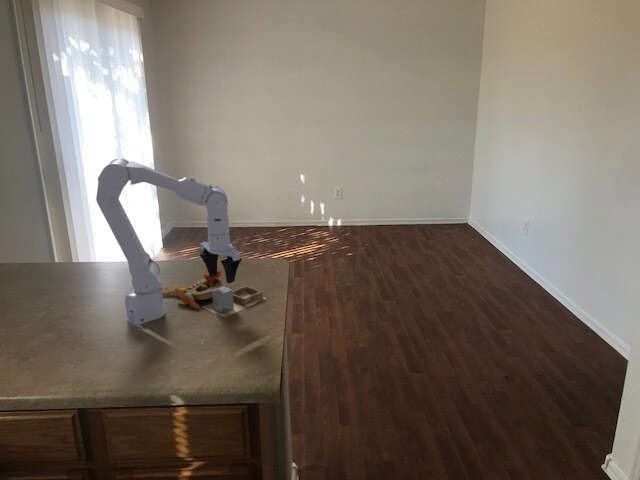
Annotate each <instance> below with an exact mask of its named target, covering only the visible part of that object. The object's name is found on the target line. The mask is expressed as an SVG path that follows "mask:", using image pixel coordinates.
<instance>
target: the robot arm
mask: <svg viewBox="0 0 640 480" xmlns="http://www.w3.org/2000/svg"><path fill="white" fill-rule="evenodd" d="M129 181H130V185H131V186H133V185H137V184H140V183H146V184H149V185H153V186H155V187H159V188H162V189H166V190H169V191H172V192H174V193H175V194H176V196H177V197H178V199H181V200H183V201H187V202H190V203H192V204H196V205H198V206H201V207H202V206H203V207H204V206H205V208H206V210H207V213H206V215H207V216H206V225H207V228H206V229H207V237H208V238H207V241H204V242H201V243H200V250H201V251H202V252H200V253H199V257H200V258H201V259H202V261H203V263H204V265H205V267H206V270H207V271H208V273H209V276H210V277H212V276H215V275H217V269H218V259H219V255H220V256H223V257H226V258H225V259H221V260H220V263H221V265H222V267H223V269H224V273H225V280H226V284H232V283H234V282H235V280H236V275H237V270H238V268H239V266H240V264H241V262H242V257H241V252H240V251H238V250H236V249H235V248H233V247H234V246H233V244H231V239H230V224H229V214H228V213H229V212H228V207H229V201H228V196H227V193H226V191H225V190H224V189H222V188H221V187H220V186H217V185H216V186H215V185H213V184H211V183H209V184H205V183H203V182H200V181H197V180H196V178H195V177H194V176H190V177H186V176H185V177H182V178H181V179H178V178H176V177H173V176H170V175H168V174H165V173H163V172H161V171H159V170H156V169H154V168H151V167H148V166H146V165H144V164H141V163H138V162H136V161H132V160H130V161H129V160H127V159H125V158H120V157H119V158H114V159H113V160H111V161H110V162H109V163H108V164H107V165H106V166H104V167H103V169H102V170H101V172H100V174H99V175H98V177H97V191H96V198H95V200H96V203H97V206H98V207H99V209H100V211H101V213H102V215H103V217H104V219H105V221H106V222H107V224H108V226H109V228H110V230H111V232H112V234H113V236H114V238H115V240H116V241H117V244H118V245H119V247H120V249H121V251H122V253H123V255H124V257H125V259H126V260H127V264H128V270H129V273H130V275H131V285H132V287H133V291H132V292H130V293H128V294H126V295H125V297H124V304H125V310H126V319H125V320H126V321H127V322H129V323H130V324H132V325H134V326H136V327H137V328H139V329H144V328H145V326H144V325H143V324H145V323H148V322H152V321H155V320H159V319H161V318H162V317H163V316H165V303H164V298H163V294H162V289H163V288H162V283H161V282H160V281H159V280H158V279H159V277H160V273H161V268H160V266H159V264H158V263H157V262H156V261H155V260H154V259H152V257H151V256H150V254H149V253H148V252H146V250H145V249H144V246H143V244H142V243H141V241H140V239H139V236H138V234H137V233H136V231H135V229H134V226H133V225H132V223H131V221H130V219H129V217H128V215H127V213H126V211H125V209H124V207H123V205H122V202H121V201H120V196H121V194H122V191H123V190H124V188H125V187H126V186H127V184H128V182H129Z"/></svg>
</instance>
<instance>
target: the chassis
mask: <svg viewBox="0 0 640 480" xmlns="http://www.w3.org/2000/svg"><path fill="white" fill-rule="evenodd" d="M232 290H233V289H232ZM267 299H268V298H266V297H264V296H263V291H262V290H259V289H257V288H254V287H252V286H249V285H244V286H242V287H238V288H237V289H234V290H233V305H234V309H233V310H231V311H228V312H226V313H224V314H221V313H219V312H217V311H215V310H214V309H213V302H212V303H209V304H207V305H204V306H202V307H201V308H203V309H205V310H207V311H209V312H211V313H213V314H216V315H218V316H220V317H223V318H227V317H229V316H232V315H234V314H236V313H238V312H240V311H242V310H245V309H247V308H249V307H252V306H254V305H256V304H258V303H260V302H263V301H265V300H267Z"/></svg>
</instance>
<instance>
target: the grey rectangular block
mask: <svg viewBox="0 0 640 480" xmlns="http://www.w3.org/2000/svg"><path fill="white" fill-rule="evenodd" d="M212 303H213V309H214V310H215V311H217V312H219V313H221V314H224V313H226V312H228V311H231V310H233V309H234V305H233V289H231V288H229V287H226V286H225V287H224V285H223V286H222V287H220V288H217V289H214V290H212Z"/></svg>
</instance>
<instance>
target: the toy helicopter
mask: <svg viewBox="0 0 640 480" xmlns="http://www.w3.org/2000/svg"><path fill="white" fill-rule="evenodd" d="M203 276H204V278H200V279H198V280H197V281H196V282H194V283H192V284H191V285H184V286H173V285H169V286H166V287H163V288H162V294H163V299H165V298H168V297H179V298H180V299H182V300H181V301H182V303H183V304H184V305H189V307H191V308H195V309H197V310H201V306H200V305H199V304H198V303H197V302H196V301H203V300H208V299H211V298H212V299H213V297H212V290H214V289H217V288H220V287H222V286H224V285H223V283H222V281H221V280H220V278H221V276H222V273H221V270H220V269H219V268H217V275H215V276H212V277H210V276H209V273H208V270H207V271H204V274H203ZM224 287H226V286H224Z"/></svg>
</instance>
